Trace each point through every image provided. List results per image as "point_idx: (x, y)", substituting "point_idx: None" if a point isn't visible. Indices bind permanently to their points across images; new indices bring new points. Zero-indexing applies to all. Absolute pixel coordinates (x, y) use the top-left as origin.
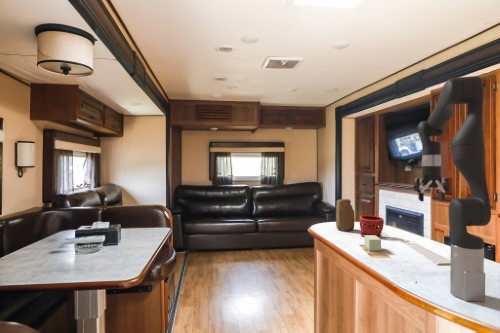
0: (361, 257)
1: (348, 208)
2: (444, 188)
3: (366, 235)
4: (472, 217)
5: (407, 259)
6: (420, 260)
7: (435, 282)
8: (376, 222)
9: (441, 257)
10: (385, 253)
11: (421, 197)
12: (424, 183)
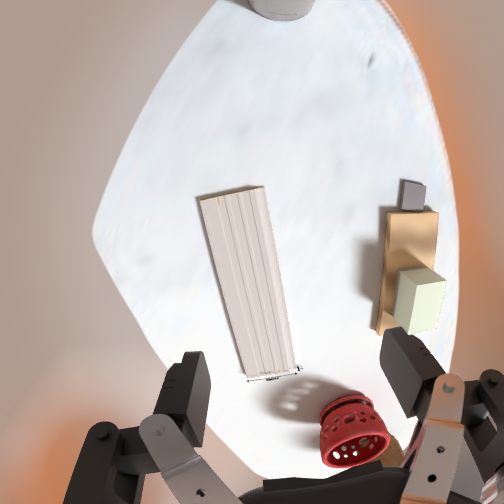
0: (444, 238)
1: None
2: (134, 477)
3: (432, 328)
4: None
5: (334, 234)
6: (296, 229)
7: (324, 55)
8: (358, 429)
9: (222, 251)
10: (391, 256)
11: (415, 351)
12: (453, 492)
